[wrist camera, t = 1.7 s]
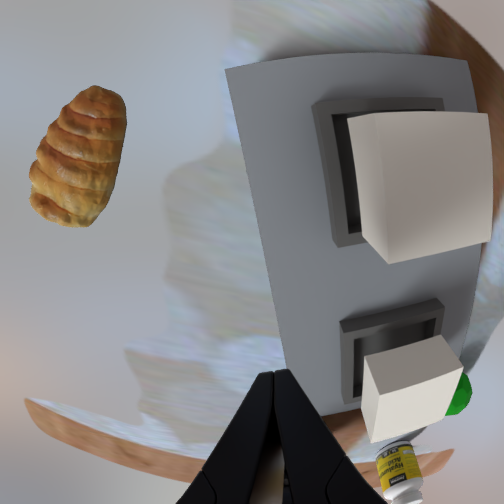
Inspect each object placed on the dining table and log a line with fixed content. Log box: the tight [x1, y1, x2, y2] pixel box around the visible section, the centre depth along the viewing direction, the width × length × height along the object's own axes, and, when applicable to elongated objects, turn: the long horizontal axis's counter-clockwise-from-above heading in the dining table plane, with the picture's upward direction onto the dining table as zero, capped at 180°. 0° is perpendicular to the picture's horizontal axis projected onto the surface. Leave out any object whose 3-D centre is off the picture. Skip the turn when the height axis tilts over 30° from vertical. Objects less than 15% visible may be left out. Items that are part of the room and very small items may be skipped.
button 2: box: [347, 111, 493, 264], centre depth 10 cm, size 5×5×3 cm
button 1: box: [361, 335, 464, 443], centre depth 14 cm, size 5×5×3 cm
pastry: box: [29, 86, 127, 227], centre depth 16 cm, size 9×7×4 cm
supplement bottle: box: [375, 441, 423, 504], centre depth 25 cm, size 5×5×10 cm
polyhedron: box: [445, 372, 472, 416], centre depth 22 cm, size 5×5×5 cm
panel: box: [225, 53, 482, 416], centre depth 17 cm, size 24×14×5 cm, turn 12°
